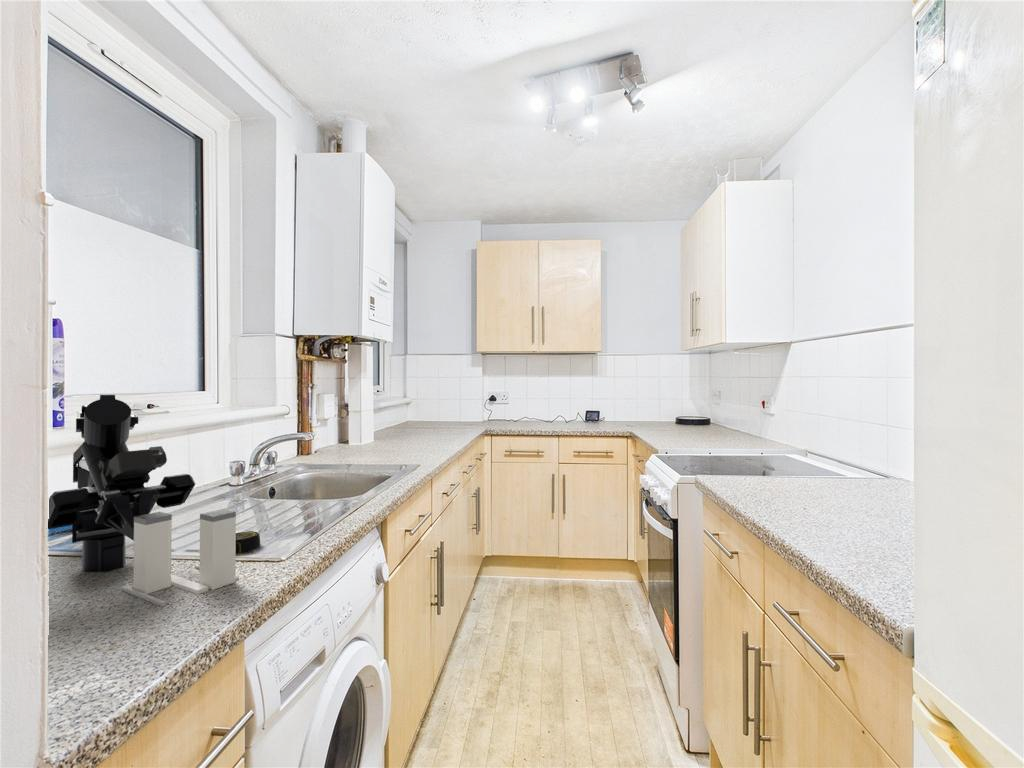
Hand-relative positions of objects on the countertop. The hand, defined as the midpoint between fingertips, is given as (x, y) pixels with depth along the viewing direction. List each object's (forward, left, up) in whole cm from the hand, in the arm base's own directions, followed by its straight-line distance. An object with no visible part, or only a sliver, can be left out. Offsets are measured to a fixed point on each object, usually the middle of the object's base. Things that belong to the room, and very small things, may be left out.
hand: (142, 541), depth 76 cm
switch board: (+4, +3, -8) cm, 9 cm away
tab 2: (+9, +6, -7) cm, 13 cm away
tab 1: (+2, 0, -7) cm, 7 cm away
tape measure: (-5, +18, -8) cm, 20 cm away
